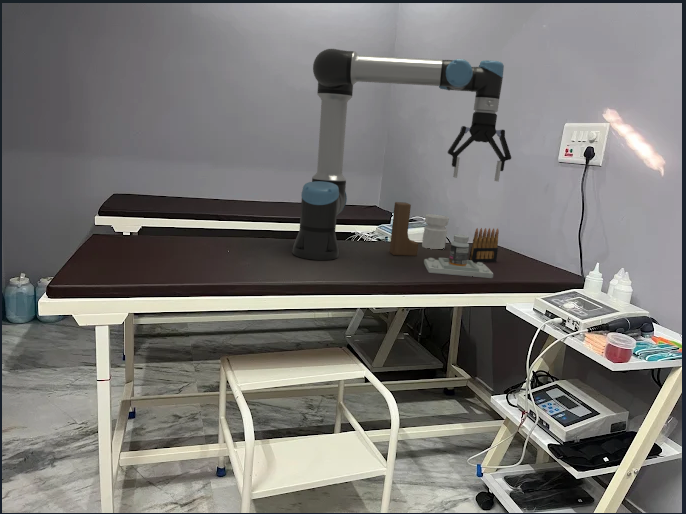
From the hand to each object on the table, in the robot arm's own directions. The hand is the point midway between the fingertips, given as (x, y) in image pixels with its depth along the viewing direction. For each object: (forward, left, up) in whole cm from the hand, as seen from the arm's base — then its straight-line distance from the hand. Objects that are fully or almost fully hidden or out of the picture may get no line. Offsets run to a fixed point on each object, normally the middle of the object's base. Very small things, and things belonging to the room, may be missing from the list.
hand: (475, 179), depth 181 cm
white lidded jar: (-7, +24, -29) cm, 38 cm away
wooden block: (-20, +7, -29) cm, 36 cm away
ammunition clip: (+8, +7, -29) cm, 31 cm away
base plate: (-4, -10, -29) cm, 31 cm away
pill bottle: (-4, -10, -27) cm, 30 cm away
